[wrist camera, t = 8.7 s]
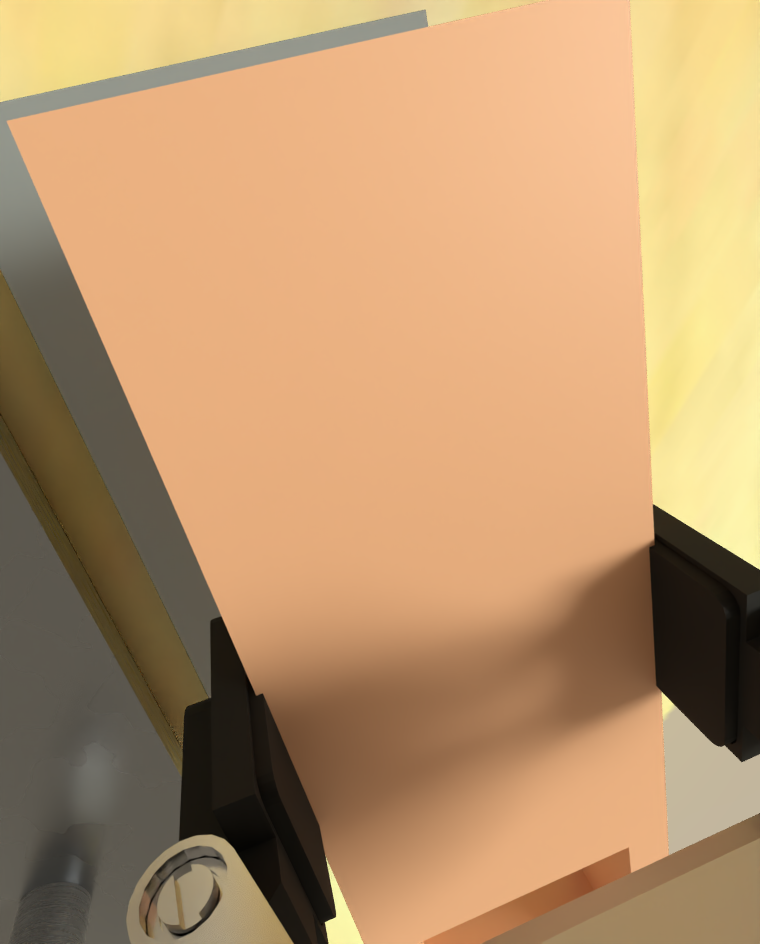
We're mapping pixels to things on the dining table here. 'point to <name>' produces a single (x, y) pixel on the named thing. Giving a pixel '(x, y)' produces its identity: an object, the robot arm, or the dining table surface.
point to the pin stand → (71, 738)
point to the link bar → (405, 433)
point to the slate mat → (81, 349)
